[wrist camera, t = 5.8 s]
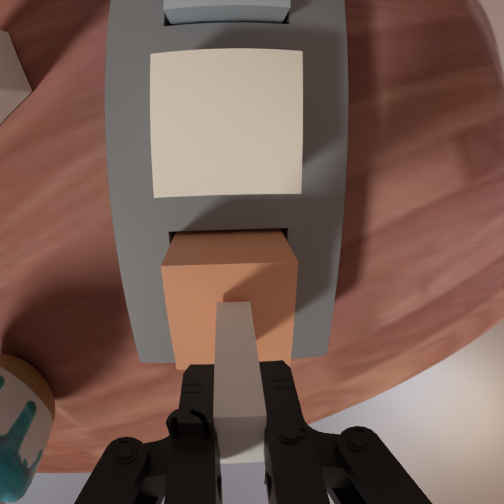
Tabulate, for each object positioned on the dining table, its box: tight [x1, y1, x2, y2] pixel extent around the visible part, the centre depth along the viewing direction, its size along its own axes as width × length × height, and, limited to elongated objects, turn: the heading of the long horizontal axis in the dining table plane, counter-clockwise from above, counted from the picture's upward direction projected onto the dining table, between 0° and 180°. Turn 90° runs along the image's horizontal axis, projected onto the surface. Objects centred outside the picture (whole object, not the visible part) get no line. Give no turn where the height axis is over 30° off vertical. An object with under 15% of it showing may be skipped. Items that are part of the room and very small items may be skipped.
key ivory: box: [150, 48, 303, 198], centre depth 14 cm, size 6×6×6 cm
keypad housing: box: [105, 0, 348, 363], centre depth 18 cm, size 13×30×5 cm, turn 0°
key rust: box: [161, 228, 298, 370], centre depth 18 cm, size 6×6×6 cm
